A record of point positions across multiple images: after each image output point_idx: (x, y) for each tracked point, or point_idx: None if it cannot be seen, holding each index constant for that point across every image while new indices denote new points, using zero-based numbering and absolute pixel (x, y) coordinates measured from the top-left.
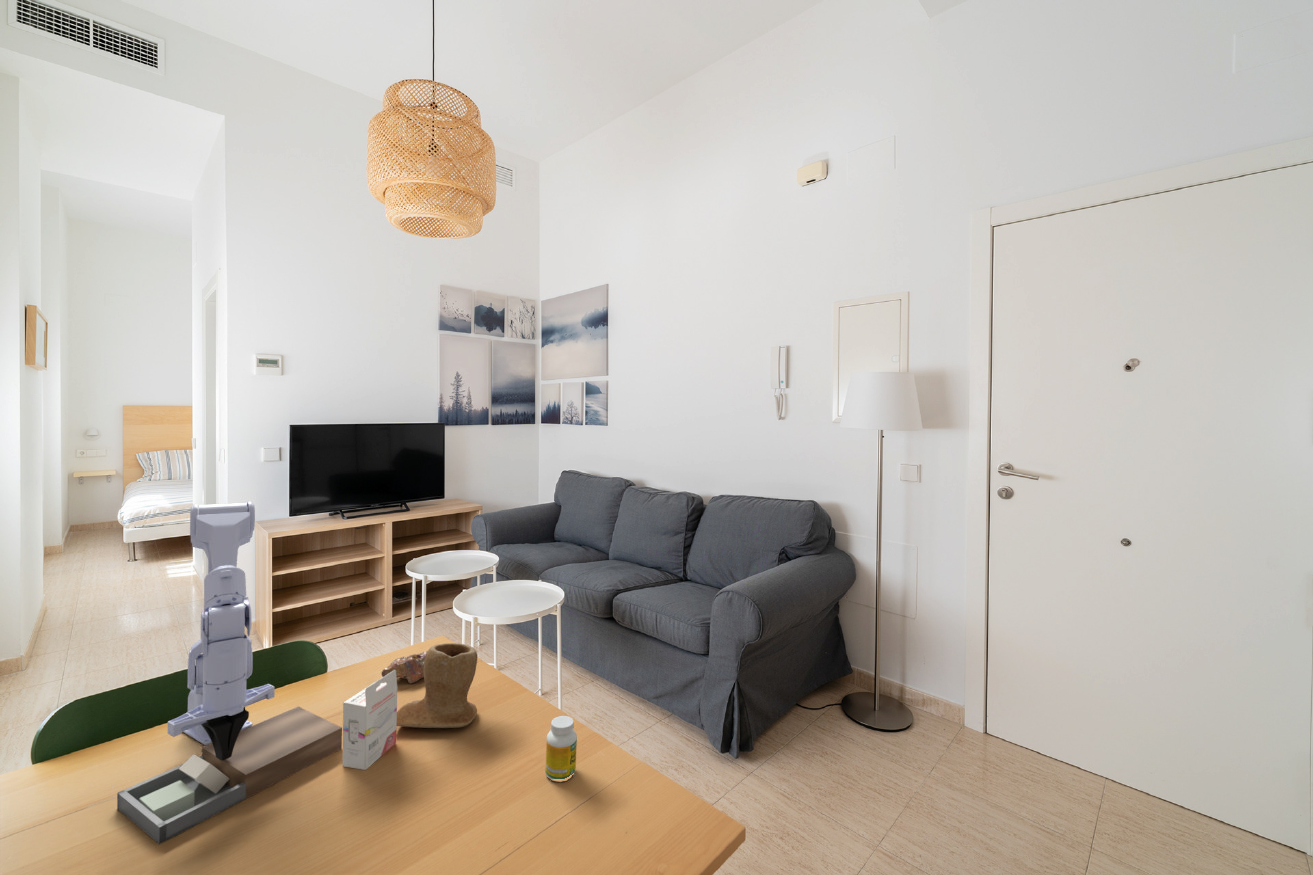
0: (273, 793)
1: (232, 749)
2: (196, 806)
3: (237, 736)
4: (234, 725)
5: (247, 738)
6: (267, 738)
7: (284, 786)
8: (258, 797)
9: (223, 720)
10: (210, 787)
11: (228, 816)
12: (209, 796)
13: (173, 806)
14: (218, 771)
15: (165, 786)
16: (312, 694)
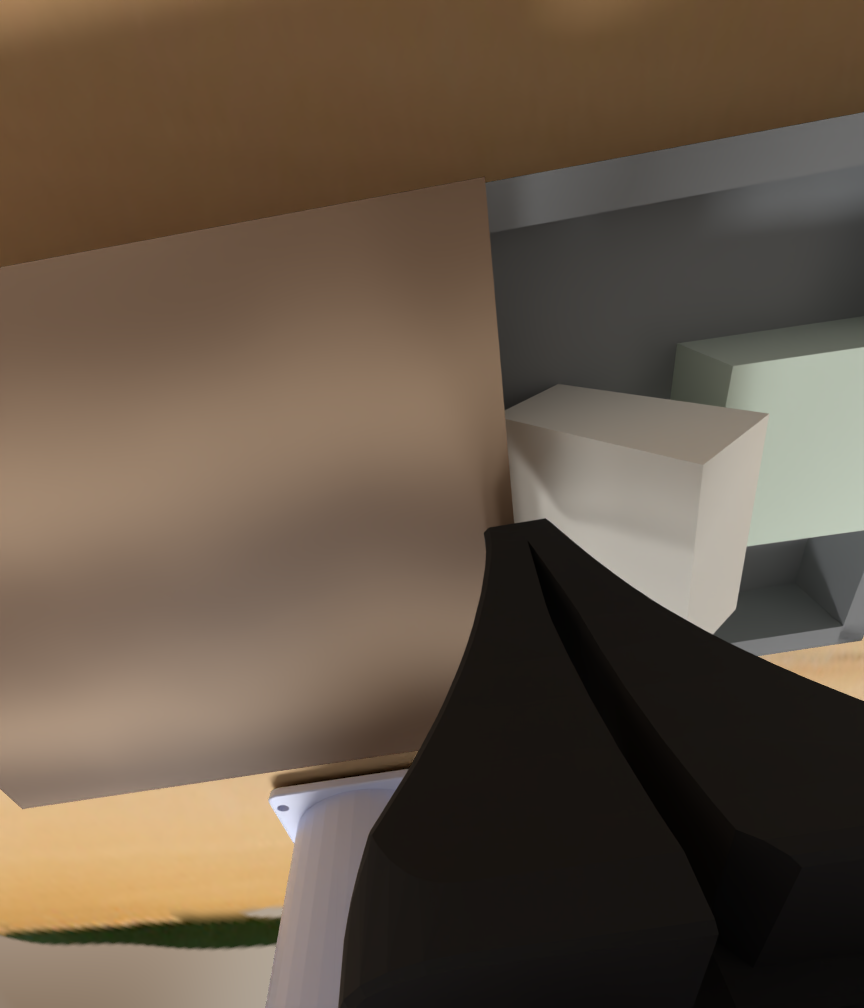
0: (299, 89)
1: (493, 554)
2: (817, 159)
3: (479, 626)
4: (604, 764)
5: (328, 682)
6: (223, 612)
7: (217, 122)
8: (392, 134)
9: (779, 955)
10: (608, 393)
11: (604, 49)
12: (588, 383)
13: (827, 339)
14: (592, 433)
15: None
16: (29, 853)
